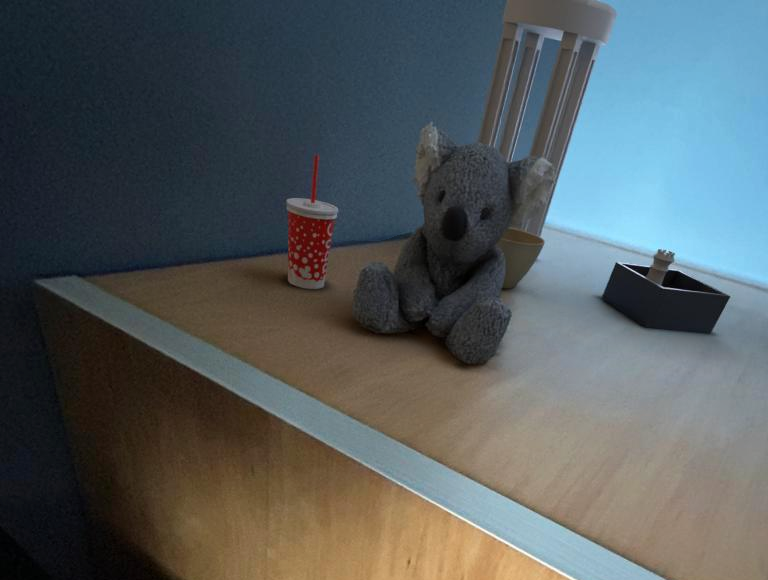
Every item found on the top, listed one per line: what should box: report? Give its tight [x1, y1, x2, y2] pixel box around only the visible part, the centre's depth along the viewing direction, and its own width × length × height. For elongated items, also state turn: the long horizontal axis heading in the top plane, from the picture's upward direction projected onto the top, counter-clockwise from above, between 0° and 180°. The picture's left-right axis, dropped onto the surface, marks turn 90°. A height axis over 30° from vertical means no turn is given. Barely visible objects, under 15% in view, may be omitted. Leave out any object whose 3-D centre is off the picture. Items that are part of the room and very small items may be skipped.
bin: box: [601, 261, 731, 334], centre depth 87 cm, size 12×12×6 cm
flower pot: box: [495, 227, 546, 289], centre depth 86 cm, size 10×10×7 cm
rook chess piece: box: [646, 248, 676, 286], centre depth 88 cm, size 4×4×8 cm
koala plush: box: [352, 121, 558, 365], centre depth 61 cm, size 17×18×20 cm
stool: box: [476, 0, 618, 237], centre depth 93 cm, size 16×16×35 cm
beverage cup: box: [285, 154, 339, 290], centre depth 68 cm, size 6×6×14 cm
